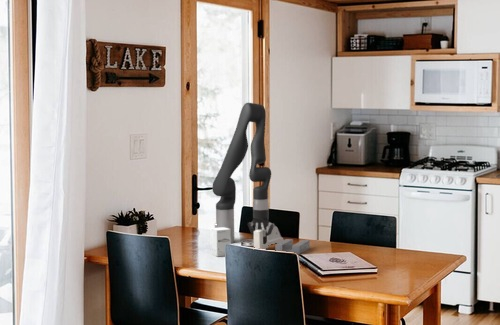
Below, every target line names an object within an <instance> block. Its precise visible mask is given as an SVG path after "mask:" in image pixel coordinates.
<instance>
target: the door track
mask: <svg viewBox="0 0 500 325" xmlns="http://www.w3.org/2000/svg"><path fill="white" fill-rule="evenodd" d="M310 242H311V241H310V240H309V239H301V240H300V241H298V242H296V243H294V239H292V238H285V239H284V240H283V241H281V242H279V243H277V244H274V245H275V246H274V248H275V249H274V251H275V250H278V251H286V252H294V253H297V254H296V255H301V254H303V253H304V252H306V251H308V250H310V249H311V248H310V247H311V246H310Z"/></svg>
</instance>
